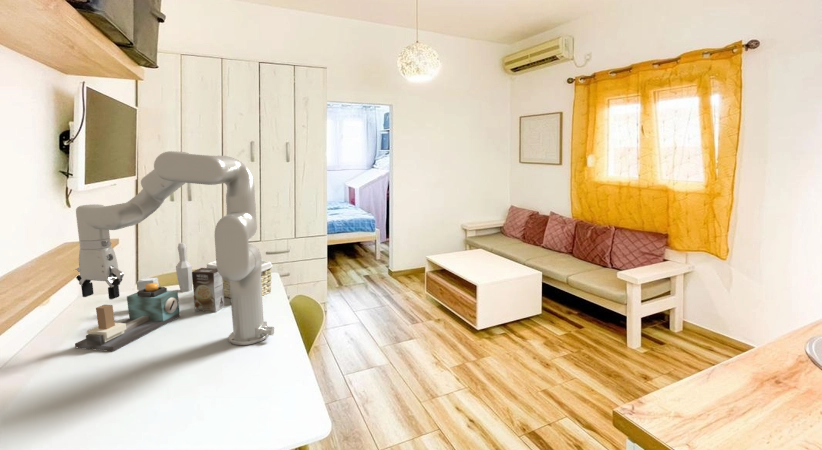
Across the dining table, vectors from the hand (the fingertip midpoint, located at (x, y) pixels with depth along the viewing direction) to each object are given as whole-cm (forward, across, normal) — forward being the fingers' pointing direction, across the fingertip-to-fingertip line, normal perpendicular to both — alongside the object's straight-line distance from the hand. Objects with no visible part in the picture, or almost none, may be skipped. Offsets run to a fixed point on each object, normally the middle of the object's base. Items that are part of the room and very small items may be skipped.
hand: (101, 296), depth 126 cm
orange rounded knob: (+4, -1, -19) cm, 20 cm away
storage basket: (+15, -16, -51) cm, 55 cm away
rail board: (+15, -1, -9) cm, 18 cm away
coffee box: (+15, -14, -32) cm, 38 cm away
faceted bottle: (+16, +12, -51) cm, 55 cm away
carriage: (+14, -1, 0) cm, 14 cm away
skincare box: (+16, +10, -29) cm, 35 cm away
